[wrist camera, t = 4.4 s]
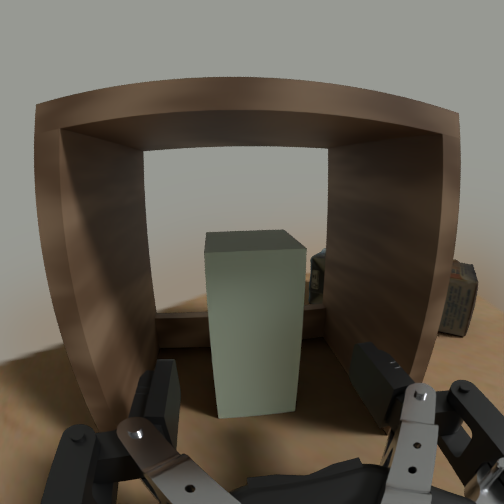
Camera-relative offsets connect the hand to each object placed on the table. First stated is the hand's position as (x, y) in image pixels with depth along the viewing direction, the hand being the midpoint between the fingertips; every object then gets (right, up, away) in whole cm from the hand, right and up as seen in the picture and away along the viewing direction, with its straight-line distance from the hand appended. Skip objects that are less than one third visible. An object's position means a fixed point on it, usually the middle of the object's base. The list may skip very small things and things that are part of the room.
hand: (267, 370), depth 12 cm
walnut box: (-1, -5, +7) cm, 9 cm away
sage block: (-1, -5, +7) cm, 9 cm away
